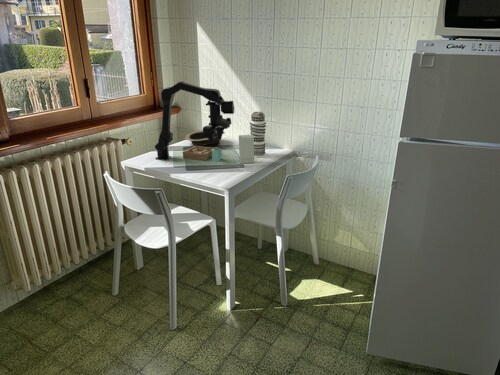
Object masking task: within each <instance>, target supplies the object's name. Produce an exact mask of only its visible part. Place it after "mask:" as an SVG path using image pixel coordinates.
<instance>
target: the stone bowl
mask: <svg viewBox="0 0 500 375" xmlns="http://www.w3.org/2000/svg"><path fill="white" fill-rule="evenodd" d="M215 132H216V133H215V134H214V142H213V144H211V142H210V140H209V139H208V137H207V135H206V134H205V133H204V132H203V129H202V130H196V131H193V132H190V133H187V134H186V135H185V136H184V140H186V141H190V142H191V144H192V146H193V147H194V146H209V145H214V146H216V147H217V146H219V145H220V143H221V140H219V138H218V135H217V131H215ZM225 133H226V132H225V131H223V134H222V135H224V134H225Z"/></svg>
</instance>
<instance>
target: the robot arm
mask: <svg viewBox="0 0 500 375" xmlns="http://www.w3.org/2000/svg"><path fill="white" fill-rule="evenodd" d="M180 91H185V92H188V93H192V94H194V95H197V96H201V97H203V98H205V99H206V100H208V101H207V102H206V103H205V106H209V115H208V118H209V123H208V125H205V126H203V127H202V130H203V132H204V133H205V134H206V135H207V137H208V139H209V140H210V142H211V144H210V145H212V144H213V142H214V134H215V133H216V132H215V131H217V135H218V138H219V140H220V141H221V140H222V138H223V135H224V134H223V132H225V131H224V130H227V129H229V128H230V126H231V125H232V119H231V118H232V117H227V118H223V114H224V115H234V114H235V104H234V100H225V99H224V97H223V96H222V95H221V92H220V90H219V89H217V88H205V87H201V86H198V85H195V84H191V83H188V82H185V81H181V80H180V81H178V82H177V83H175V84H174V85H173V86H168V87H166V88H164V89H162V90H161V91H160V96H161V101H162V104H163V105H162V106H163V107H162V120H161V122H162V123H161V124H162V125H161V131H160V134H159V137H158V142H157V143H156V144H155V145H154V148H155V150H156V151H157V157H155V159H156V160H163V161H166V160H168V159H171V158H172V155H170V152H169V145H170V144H171V143H172V141H173V140H174V137H173V135H174V132H171V122H172V121H171V120H172V118H171V117H172V105H173V102H174V100H175V96H176V94H177V93H178V92H180ZM221 113H222V114H221ZM213 145H214V144H213Z"/></svg>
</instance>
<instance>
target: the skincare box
mask: <svg viewBox="0 0 500 375" xmlns="http://www.w3.org/2000/svg"><path fill="white" fill-rule="evenodd" d="M238 149H239V150H238V151H239V164H255V157H254V136H253V135H251V134H240V135H239V134H238Z"/></svg>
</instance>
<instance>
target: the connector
mask: <svg viewBox="0 0 500 375" xmlns="http://www.w3.org/2000/svg"><path fill="white" fill-rule="evenodd" d="M213 148H214V149H213V150H212V157H211V159H212V160H213V162H221V161H222V160H223V154H222V153H223V152H222V148H220V147H217V146H216V147H213ZM221 159H222V160H221Z"/></svg>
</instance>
